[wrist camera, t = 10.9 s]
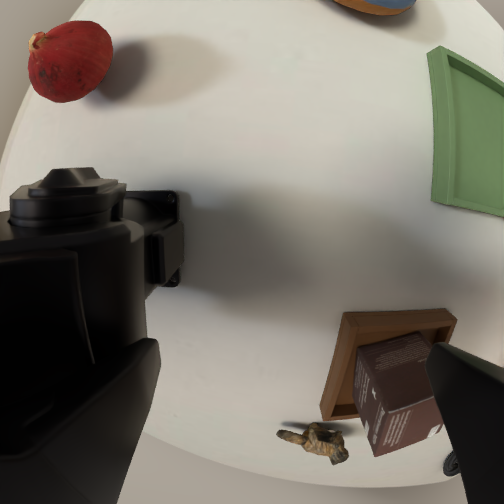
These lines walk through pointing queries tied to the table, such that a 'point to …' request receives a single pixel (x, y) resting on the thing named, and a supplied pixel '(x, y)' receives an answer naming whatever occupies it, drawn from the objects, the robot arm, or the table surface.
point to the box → (395, 393)
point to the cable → (451, 466)
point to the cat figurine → (319, 442)
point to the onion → (69, 60)
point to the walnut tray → (369, 332)
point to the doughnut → (378, 6)
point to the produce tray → (467, 134)
